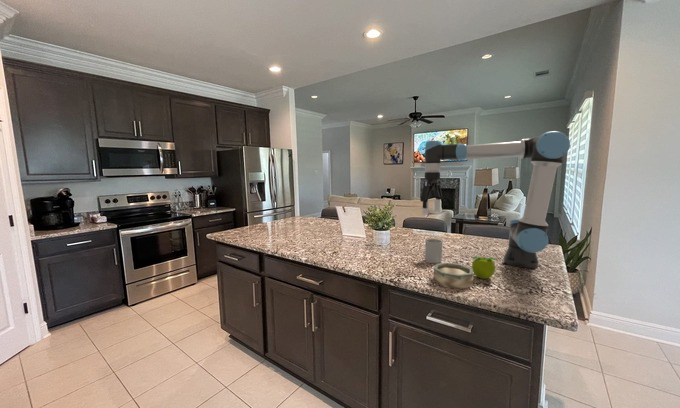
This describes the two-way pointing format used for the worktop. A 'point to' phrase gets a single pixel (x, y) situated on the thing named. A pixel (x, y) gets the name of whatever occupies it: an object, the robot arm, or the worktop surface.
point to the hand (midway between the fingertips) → (431, 213)
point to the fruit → (483, 267)
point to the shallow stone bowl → (453, 275)
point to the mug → (433, 251)
